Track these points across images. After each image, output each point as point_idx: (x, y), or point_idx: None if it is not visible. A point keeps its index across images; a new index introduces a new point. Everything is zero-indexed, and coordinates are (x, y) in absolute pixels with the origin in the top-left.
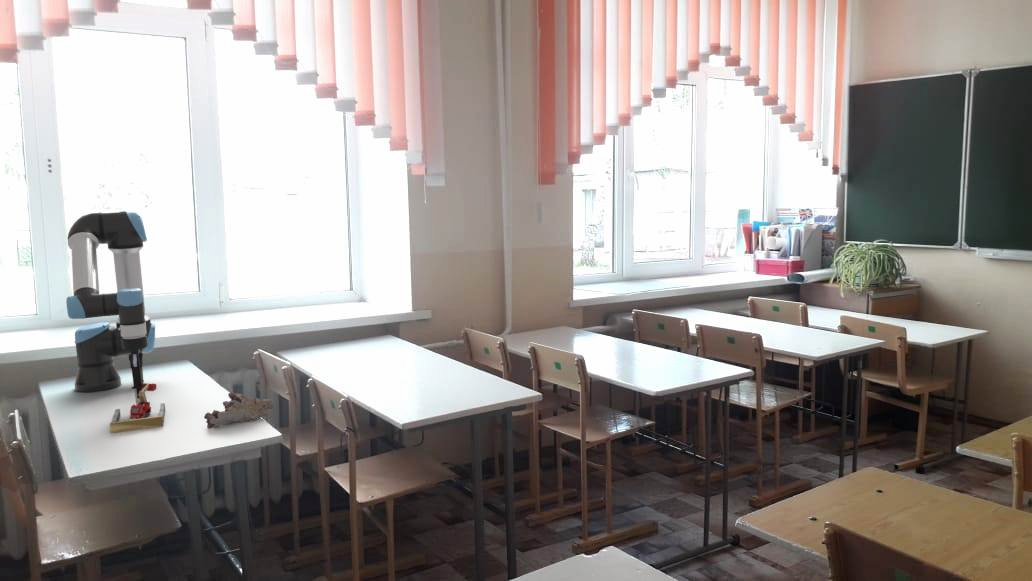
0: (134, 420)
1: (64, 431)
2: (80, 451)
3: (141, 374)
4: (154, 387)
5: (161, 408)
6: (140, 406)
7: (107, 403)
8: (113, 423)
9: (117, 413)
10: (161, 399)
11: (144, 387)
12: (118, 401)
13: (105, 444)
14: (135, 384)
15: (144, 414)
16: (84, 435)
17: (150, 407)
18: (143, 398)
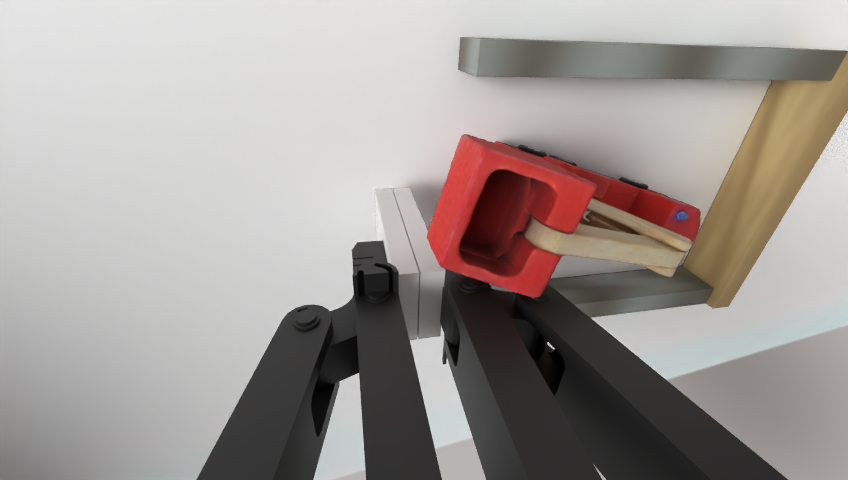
0: (784, 211)
1: None
2: (797, 321)
3: (544, 407)
4: (529, 158)
5: (634, 64)
6: (697, 214)
7: (126, 394)
8: (733, 292)
9: None
10: (54, 78)
11: (621, 259)
12: (82, 357)
13: (805, 269)
14: (561, 356)
15: (599, 174)
16: (638, 351)
17: (518, 150)
18: (643, 219)
